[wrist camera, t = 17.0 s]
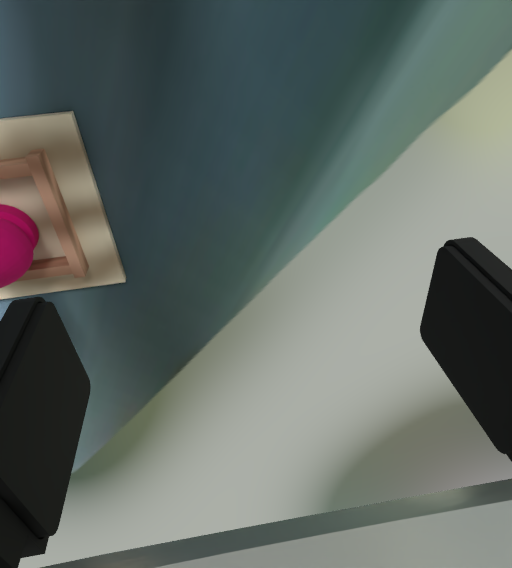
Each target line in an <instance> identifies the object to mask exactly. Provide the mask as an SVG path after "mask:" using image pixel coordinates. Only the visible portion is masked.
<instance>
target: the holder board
mask: <svg viewBox="0 0 512 568" xmlns="http://www.w3.org/2000/svg"><path fill="white" fill-rule="evenodd" d="M0 204H4V205H9V206H13V207H15V208H17V209H19V210H21V211H23V212H25V213H26V214H27V215H28V216H29V217H30V218H31V219H32V220H33V221H34V222H35V224H36V226H37V228H38V232H39V240H38V243H37V245H36V247H35V248H34V250H33V253H34V255H33V261H32V264H31V266H30V267H29V269H28V270H27V271H26V272H25V274H24V275H23V276H22V277H20V278H19V279H18V280H16V281H15V282H13V283H11V284H10V285H7V286H5V287H2V288H0V299H6V298H14V297H21V296H28V295H35V294H43V293H50V292H57V291H64V290H72V289H79V288H86V287H93V286H101V285H108V284H115V283H123V282H126V275H125V272H124V269H123V266H122V262H121V259H120V256H119V253H118V250H117V247H116V244H115V241H114V237H113V234H112V231H111V228H110V225H109V222H108V219H107V216H106V212H105V209H104V206H103V203H102V200H101V197H100V194H99V190H98V187H97V184H96V181H95V178H94V175H93V172H92V169H91V165H90V162H89V159H88V156H87V153H86V150H85V147H84V144H83V140H82V137H81V134H80V131H79V128H78V125H77V122H76V118H75V115H74V112H73V111H67V112H58V113H48V114H39V115H30V116H20V117H11V118H1V119H0Z"/></svg>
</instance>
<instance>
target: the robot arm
mask: <svg viewBox="0 0 512 568" xmlns="http://www.w3.org/2000/svg"><path fill="white" fill-rule="evenodd" d="M420 333H421V337H422V339H423V341H424V343H425V344H426V346H427V347H428V349H429V350H430V352H431V353H432V355H433V356H434V357H435V359H436V360H437V362H438V363H439V365H440V366H441V368H442V369H443V371H444V372H445V374H446V375H447V377H448V378H449V380H450V381H451V383H452V384H453V386H454V387H455V388H456V390H457V391H458V393H459V394H460V396H461V397H462V399H463V400H464V402H465V403H466V405H467V406H468V407H469V409H470V410H471V412H472V413H473V415H474V416H475V418H476V419H477V421H478V422H479V424H480V425H481V426H482V428H483V429H484V431H485V432H486V434H487V435H488V437H489V438H490V440H491V441H492V443H493V444H494V446H495V447H496V448H497V449H498V451H500V452H501V453H503V454H507V456H508V457H509V459H510V460H511V461H512V270H511V269H510V268H509V267H508V266H507V265H506V264H505V263H503V262H502V261H501V260H500V259H499V258H498V257H496V256H495V255H494V254H493V253H492V252H490V251H489V250H488V249H487V248H486V247H485V246H483V245H482V244H481V243H480V242H479V241H478V240H476V239H475V238H473V237H469V238H461V239H454V240H448V241H447V242H446V243H445V244H444V246H443V247H441V248H440V249H439V250H438V252H437V256H436V261H435V265H434V269H433V274H432V278H431V282H430V287H429V291H428V296H427V300H426V305H425V308H424V313H423V317H422V321H421V326H420ZM89 395H90V381H89V378H88V375H87V373H86V371H85V369H84V367H83V365H82V363H81V361H80V359H79V356H78V354H77V352H76V350H75V348H74V346H73V344H72V342H71V339H70V337H69V335H68V333H67V331H66V329H65V327H64V325H63V323H62V320H61V318H60V316H59V314H58V312H57V310H56V308H55V306H54V304H53V303H52V302H46V301H45V300H44V299H43V298H42V297H34V298H27V299H19V300H14V301H12V302H11V303H10V305H9V307H8V309H7V310H6V312H5V314H4V316H3V318H2V319H1V321H0V568H18V565H19V562H20V558H24V557H29V556H35V555H40V554H45V550H46V546H47V542H48V538H49V536H53V535H54V534H55V533H56V531H57V529H58V526H59V522H60V518H61V514H62V510H63V505H64V501H65V497H66V492H67V488H68V484H69V480H70V476H71V471H72V467H73V463H74V459H75V455H76V450H77V446H78V442H79V438H80V433H81V429H82V425H83V421H84V416H85V412H86V408H87V404H88V399H89ZM41 568H512V479H508V480H502V481H497V482H491V483H486V484H480V485H474V486H469V487H463V488H458V489H452V490H447V491H441V492H436V493H430V494H424V495H419V496H413V497H408V498H402V499H397V500H391V501H386V502H381V503H375V504H369V505H364V506H359V507H353V508H348V509H342V510H338V511H332V512H326V513H321V514H315V515H310V516H305V517H300V518H294V519H288V520H283V521H278V522H273V523H267V524H261V525H256V526H251V527H246V528H240V529H235V530H230V531H224V532H219V533H214V534H209V535H204V536H198V537H193V538H188V539H182V540H177V541H172V542H167V543H161V544H156V545H151V546H146V547H140V548H135V549H130V550H125V551H120V552H114V553H109V554H104V555H99V556H94V557H89V558H85V559H80V560H75V561H70V562H66V563H60V564H56V565H51V566H46V567H41Z"/></svg>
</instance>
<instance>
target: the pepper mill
mask: <svg viewBox="0 0 512 568" xmlns="http://www.w3.org/2000/svg"><path fill="white" fill-rule="evenodd" d="M38 240H39V232H38V228H37V226H36V224H35V222H34V221H33V220H32V219H31V218H30V217H29V216H28V215H27V214H26V213H25V212H23V211H21V210H19V209H17V208H15V207H13V206H9V205H4V204H0V288H2V287H5V286H7V285H10V284H11V283H13V282H15V281H16V280H18V279H19V278H20V277H22V276H23V275H24V274H25V272H26V271H27V270H28V269H29V267H30V266H31V264H32V261H33V255H34V253H33V250H34V248H35V247H36V245H37V243H38Z"/></svg>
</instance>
